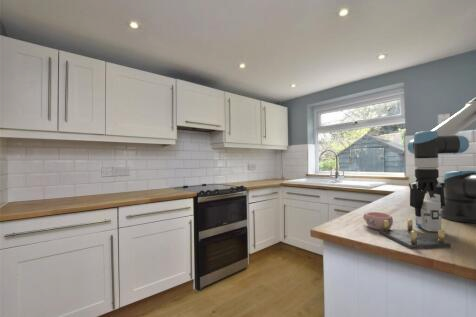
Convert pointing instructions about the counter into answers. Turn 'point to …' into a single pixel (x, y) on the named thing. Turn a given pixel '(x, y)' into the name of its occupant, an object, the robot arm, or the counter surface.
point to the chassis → (414, 237)
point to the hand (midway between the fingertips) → (427, 223)
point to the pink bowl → (377, 220)
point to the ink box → (431, 213)
